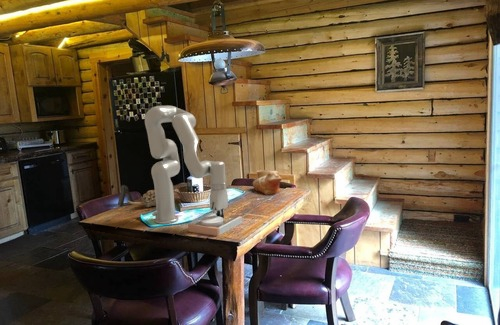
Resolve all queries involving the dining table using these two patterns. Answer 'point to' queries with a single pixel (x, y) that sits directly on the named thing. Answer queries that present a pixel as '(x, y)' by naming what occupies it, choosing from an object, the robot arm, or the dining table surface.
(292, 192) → the dining table surface
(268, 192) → the bread loaf
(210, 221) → the ramekin
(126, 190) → the phone stand
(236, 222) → the bay
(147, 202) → the knobbly ball on stick
